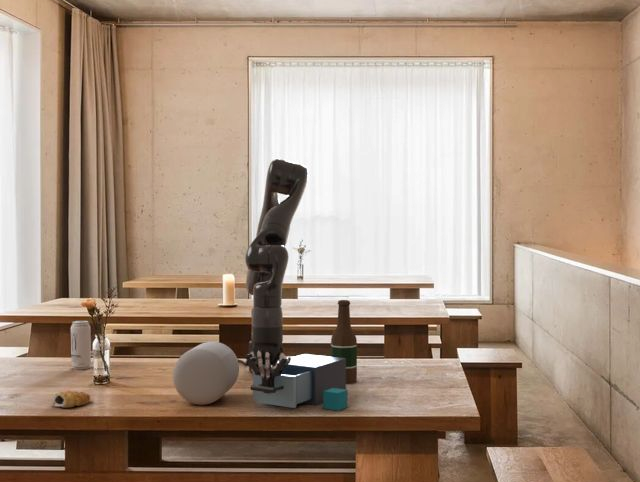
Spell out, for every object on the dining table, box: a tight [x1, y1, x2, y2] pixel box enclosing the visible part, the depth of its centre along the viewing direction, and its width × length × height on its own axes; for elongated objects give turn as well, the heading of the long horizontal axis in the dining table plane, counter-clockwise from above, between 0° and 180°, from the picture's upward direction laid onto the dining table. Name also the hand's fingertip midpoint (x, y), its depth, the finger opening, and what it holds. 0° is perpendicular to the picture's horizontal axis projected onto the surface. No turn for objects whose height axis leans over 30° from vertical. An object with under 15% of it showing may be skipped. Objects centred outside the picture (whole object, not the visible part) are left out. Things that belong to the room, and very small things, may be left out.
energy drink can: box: [70, 320, 92, 371], centre depth 264 cm, size 6×6×15 cm
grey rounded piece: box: [159, 341, 240, 406], centre depth 223 cm, size 19×15×25 cm
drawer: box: [249, 367, 313, 409], centre depth 214 cm, size 20×13×8 cm, turn 149°
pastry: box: [51, 390, 91, 409], centre depth 214 cm, size 9×7×4 cm
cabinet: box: [277, 353, 347, 405], centre depth 224 cm, size 16×14×10 cm
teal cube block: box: [322, 388, 348, 411], centre depth 211 cm, size 4×4×4 cm
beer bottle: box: [330, 299, 358, 385], centre depth 243 cm, size 8×8×24 cm
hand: (268, 392), depth 207 cm, fingers closed
